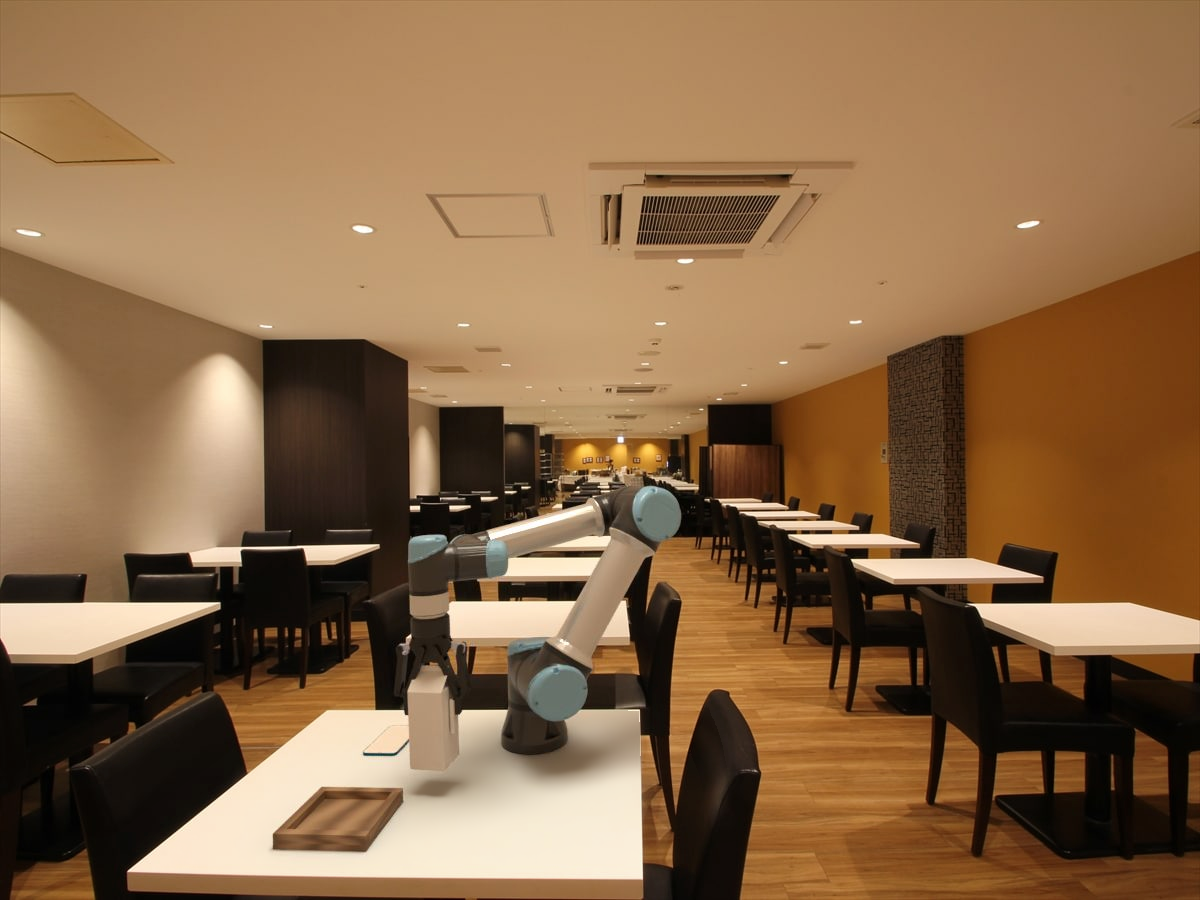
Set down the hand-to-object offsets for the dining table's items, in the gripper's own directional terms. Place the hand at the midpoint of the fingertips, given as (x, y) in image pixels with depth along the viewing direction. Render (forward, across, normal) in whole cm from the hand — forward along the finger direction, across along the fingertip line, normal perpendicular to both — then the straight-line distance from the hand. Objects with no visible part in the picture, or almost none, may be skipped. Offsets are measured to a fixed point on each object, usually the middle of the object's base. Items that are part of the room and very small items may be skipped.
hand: (434, 730), depth 128 cm
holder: (+11, +13, +13) cm, 21 cm away
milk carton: (+6, 0, 0) cm, 6 cm away
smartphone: (+12, +18, -22) cm, 30 cm away
